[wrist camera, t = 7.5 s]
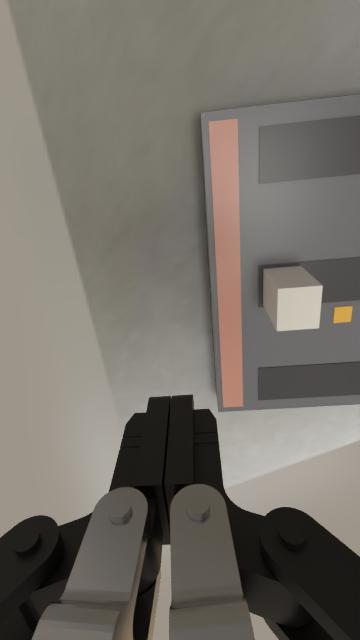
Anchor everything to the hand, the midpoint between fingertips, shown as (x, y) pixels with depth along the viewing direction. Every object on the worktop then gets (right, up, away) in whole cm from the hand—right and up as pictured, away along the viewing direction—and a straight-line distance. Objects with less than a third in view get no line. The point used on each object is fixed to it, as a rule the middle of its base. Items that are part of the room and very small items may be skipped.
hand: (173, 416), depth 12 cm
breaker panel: (+11, +7, +13) cm, 19 cm away
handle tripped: (+7, +6, +11) cm, 14 cm away
